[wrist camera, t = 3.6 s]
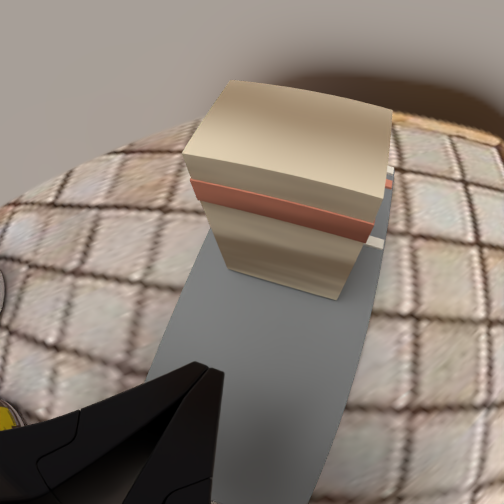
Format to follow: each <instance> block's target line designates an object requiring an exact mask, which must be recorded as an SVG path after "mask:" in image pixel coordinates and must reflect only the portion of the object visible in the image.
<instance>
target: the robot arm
mask: <svg viewBox="0 0 504 504" xmlns="http://www.w3.org/2000/svg"><path fill="white" fill-rule="evenodd" d="M224 378H225V373H224V372H223V371H221V370H218V369H215V368H213V367H211V368H209V367H208V366H207V365H205V364H202V363H200V362H197V361H193V362H191V363H188V364H186V365H184V366H182V367H180V368H177V369H175V370H173V371H171V372H169V373H166V374H164V375H162V376H160V377H157V378H155V379H153V380H150V381H148V382H146V383H143V384H141V385H139V386H136V387H134V388H132V389H129V390H127V391H124V392H122V393H120V394H117V395H115V396H112V397H110V398H107V399H105V400H102V401H100V402H97V403H95V404H92V405H90V406H87V407H84V408H82V409H81V411H80V410H76V411H74V412H71V413H68V414H65V415H62V416H59V417H56V418H53V419H50V420H47V421H43V422H39V423H35V424H31V425H27V426H22V427H17V428H12V429H7V430H2V431H0V504H211V494H212V485H213V474H214V465H215V456H216V447H217V438H218V429H219V421H220V412H221V403H222V395H223V386H224Z"/></svg>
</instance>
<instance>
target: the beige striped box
mask: <svg viewBox="0 0 504 504" xmlns="http://www.w3.org/2000/svg"><path fill="white" fill-rule="evenodd" d="M392 111H393V110H390V109H386V108H383V107H379V106H375V105H371V104H367V103H363V102H359V101H355V100H351V99H346V98H342V97H338V96H333V95H328V94H323V93H318V92H313V91H307V90H302V89H296V88H290V87H283V86H277V85H270V84H262V83H254V82H246V81H235V80H230V81H229V83H228V84H227V86H226V87H225V89H224V90H223V91H222V93H221V94H220V96H219V97H218V99H217V100H216V101H215V103H214V105H213V106H212V107H211V109H210V110H209V112H208V113H207V115H206V116H205V118H204V119H203V121H202V122H201V124H200V125H199V127H198V128H197V130H196V131H195V133H194V135H193V136H192V138H191V139H190V141H189V142H188V144H187V146H186V147H185V149H184V150H183V152H182V155H183V158H184V161H185V163H186V166H187V168H188V171H189V174H190V176H191V178H190V182H191V184H192V187H193V189H194V192H195V194H196V197H197V199H198V200H200V202H201V204H202V207H203V209H204V212H205V214H206V217H207V219H208V222H209V224H210V227H211V229H212V232H213V234H214V237H215V239H216V242H217V244H218V247H219V249H220V252H221V254H222V257H223V259H224V262H225V264H226V266H227V269H230V270H234V271H237V272H240V273H244V274H247V275H250V276H254V277H257V278H260V279H264V280H267V281H271V282H274V283H277V284H281V285H284V286H288V287H291V288H295V289H298V290H302V291H305V292H309V293H312V294H315V295H319V296H323V297H326V298H330V299H333V300H337V299H338V297H339V295H340V293H341V291H342V289H343V287H344V285H345V283H346V281H347V278H348V276H349V274H350V272H351V270H352V268H353V266H354V264H355V262H356V260H357V257H358V255H359V253H360V251H361V249H362V247H363V244H364V243H366V242H367V240H368V238H369V235H370V233H371V231H372V229H373V227H374V223H375V217H376V215H377V213H378V210H379V208H380V205H381V203H382V201H383V197H384V190H385V182H386V174H387V166H388V157H389V148H390V137H391V125H392Z"/></svg>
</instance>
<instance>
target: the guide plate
mask: <svg viewBox="0 0 504 504" xmlns="http://www.w3.org/2000/svg"><path fill="white" fill-rule="evenodd" d="M394 171H395V170H394V167H391V166H387V174H386V182H385V190H384V197H383V201H382V203H381V205H380V208H379V210H378V213H377V215H376V217H375V223H374V227H373V229H372V231H371V233H370V235H369V238H368V240H367V242H366V243H364V244H363V247H362V249H361V251H360V253H359V255H358V257H357V260H356V262H355V264H354V266H353V268H352V270H351V272H350V274H349V276H348V278H347V281H346V283H345V285H344V287H343V289H342V291H341V293H340V295H339V297H338V299H337V300H333V299H330V298H326V297H323V296H319V295H315V294H312V293H309V292H305V291H302V290H298V289H295V288H291V287H288V286H284V285H281V284H277V283H274V282H271V281H267V280H264V279H260V278H257V277H254V276H250V275H247V274H244V273H240V272H237V271H234V270H230V269H227V266H226V264H225V262H224V259H223V257H222V254H221V252H220V249H219V247H218V244H217V242H216V239H215V237H214V234H213V232H212V229H211V227H210V230H209V232H208V234H207V236H206V238H205V241H204V243H203V245H202V247H201V249H200V252H199V254H198V256H197V258H196V261H195V263H194V265H193V267H192V270H191V272H190V274H189V277H188V279H187V281H186V283H185V286H184V288H183V290H182V293H181V295H180V297H179V300H178V302H177V304H176V307H175V309H174V311H173V314H172V316H171V319H170V321H169V323H168V326H167V328H166V331H165V333H164V335H163V338H162V340H161V343H160V345H159V348H158V350H157V353H156V355H155V357H154V360H153V362H152V365H151V367H150V370H149V373H148V375H147V378H146V380H145V383H146V382H148V381H150V380H153V379H155V378H157V377H160V376H162V375H164V374H166V373H169V372H171V371H173V370H175V369H177V368H180V367H182V366H184V365H186V364H188V363H191V362H193V361H197V362H200V363H202V364H205V365H207V366H208V367H209V368H211V367H213V368H215V369H218V370H221V371H223V372H224V373H225V378H224V386H223V395H222V403H221V412H220V421H219V429H218V438H217V447H216V456H215V465H214V474H213V485H212V494H211V500H212V501H215V502H218V503H220V504H308V502H309V500H310V497H311V495H312V493H313V490H314V488H315V486H316V483H317V481H318V479H319V476H320V474H321V471H322V469H323V466H324V464H325V461H326V459H327V456H328V454H329V451H330V448H331V446H332V443H333V440H334V437H335V435H336V432H337V429H338V426H339V423H340V420H341V417H342V414H343V411H344V408H345V405H346V402H347V399H348V396H349V393H350V389H351V386H352V383H353V380H354V376H355V373H356V369H357V366H358V362H359V359H360V355H361V351H362V347H363V344H364V340H365V336H366V332H367V328H368V324H369V320H370V315H371V311H372V307H373V302H374V298H375V293H376V288H377V283H378V278H379V273H380V268H381V263H382V257H383V251H384V246H385V239H386V233H387V227H388V220H389V213H390V206H391V198H392V189H393V181H394Z"/></svg>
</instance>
